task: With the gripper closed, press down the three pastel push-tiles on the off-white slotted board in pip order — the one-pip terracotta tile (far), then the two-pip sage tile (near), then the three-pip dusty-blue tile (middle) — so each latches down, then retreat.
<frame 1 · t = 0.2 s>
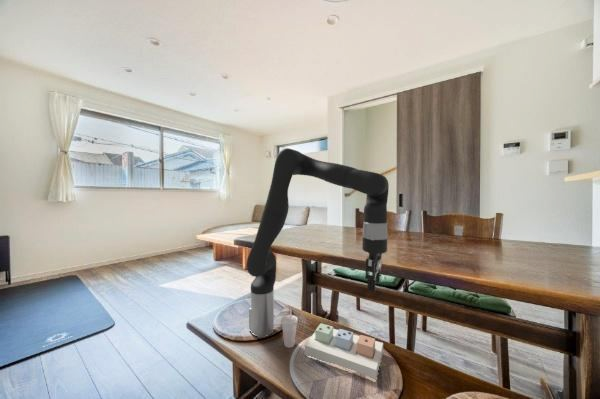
hand: (373, 286, 75), 27 cm above the bench, fingers open, 8 cm apart
smoothie: (289, 344, 87), on the bench
board: (344, 355, 82), on the bench
tile one: (366, 348, 78), point 5 cm above the bench, slide at 0.0 cm
tile three: (344, 342, 81), point 5 cm above the bench, slide at 0.0 cm
tile two: (324, 335, 85), point 5 cm above the bench, slide at 0.0 cm
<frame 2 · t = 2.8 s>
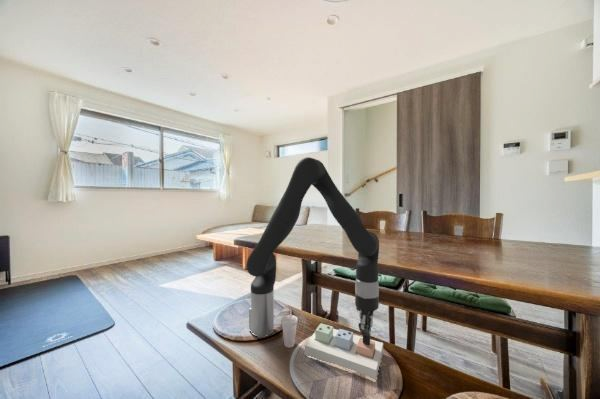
hand: (366, 343, 78), 7 cm above the bench, fingers closed
tile one: (365, 351, 78), point 4 cm above the bench, slide at 1.0 cm, touching gripper
everything else where it was.
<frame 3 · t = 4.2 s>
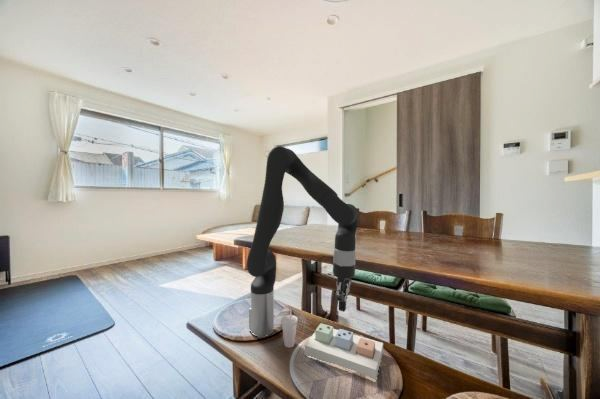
hand: (342, 310, 81), 16 cm above the bench, fingers closed
tile one: (365, 352, 78), point 4 cm above the bench, slide at 1.1 cm
everything else where it was.
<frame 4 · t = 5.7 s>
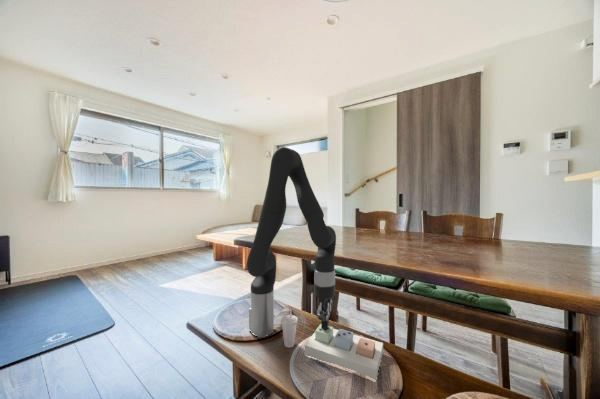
hand: (325, 328, 85), 7 cm above the bench, fingers closed
tile two: (324, 336, 85), point 4 cm above the bench, slide at 0.2 cm, touching gripper
everything else where it was.
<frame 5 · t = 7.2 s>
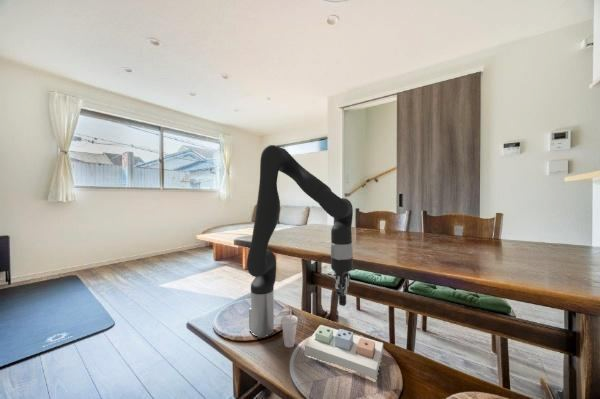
hand: (342, 304, 81), 18 cm above the bench, fingers closed
tile two: (324, 338, 85), point 4 cm above the bench, slide at 1.1 cm
everything else where it was.
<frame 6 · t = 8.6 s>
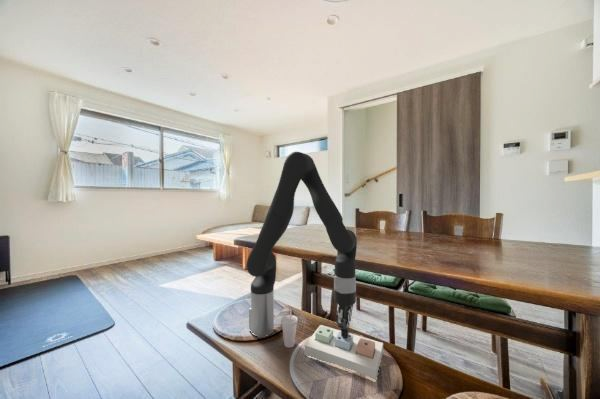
hand: (344, 336, 81), 7 cm above the bench, fingers closed
tile three: (344, 344, 82), point 4 cm above the bench, slide at 1.0 cm, touching gripper
everything else where it was.
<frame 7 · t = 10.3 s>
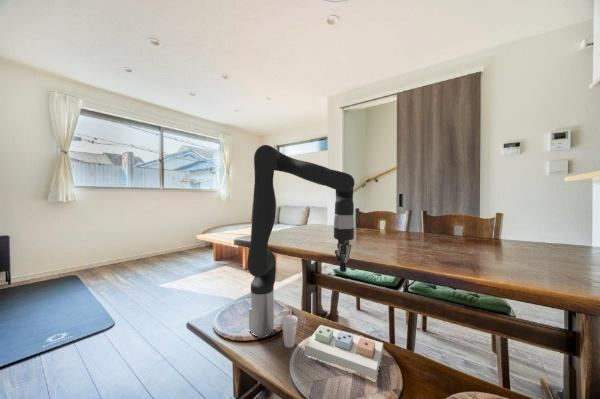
hand: (343, 271, 89), 27 cm above the bench, fingers closed
tile three: (344, 345, 82), point 4 cm above the bench, slide at 1.1 cm
everything else where it was.
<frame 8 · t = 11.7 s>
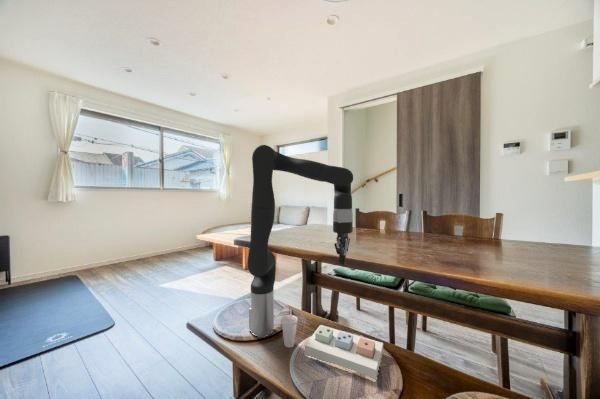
hand: (342, 264, 91), 29 cm above the bench, fingers closed
nothing on the bench moved.
at the end: tile one slide at 1.1 cm; tile two slide at 1.1 cm; tile three slide at 1.1 cm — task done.
